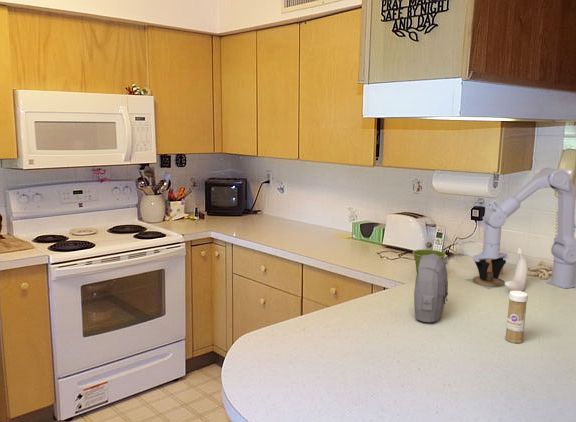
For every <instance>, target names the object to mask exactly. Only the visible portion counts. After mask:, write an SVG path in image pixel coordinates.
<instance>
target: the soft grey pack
mask: <svg viewBox="0 0 576 422" xmlns="http://www.w3.org/2000/svg"><path fill="white" fill-rule="evenodd" d="M448 284H449V281H448V271H447V267H446V263H445V261H444V259H442V258H441V257H440V256H438V255H436V254H430V255H423V256H422V258H421V259H420V263H419V267H418V271H416V277H415V284H414V289H413V290H414V291H413V292H414V293H413V300H414V301H413V305H414V306H413V307H414V317H415V319H417V320H418V321H420V322H423V323H434V322H437V321H438V320H439V319H440V318H441V316H442V314H443V312H444V307H445V305H446V302H448V295H449V292H448V291H449V285H448Z"/></svg>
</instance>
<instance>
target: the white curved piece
mask: <svg viewBox="0 0 576 422" xmlns="http://www.w3.org/2000/svg"><path fill="white" fill-rule="evenodd" d="M523 253H524V252H523V250H522V249H521V247H518V248H517V252H516V254H518V257H519V260H518V262H517V263H516V266H515V271H514V276H513V279H512V280H508V281H504V282H505V288H506V289H507V290H508V291H509V292H510V291H522V292H524V291H523V290H524V289H525V287H526V284H527V278H528V277H527V276H528V271H529V269H528V268H529V267H528V262H527V260H526V258H525V257H524V254H523Z"/></svg>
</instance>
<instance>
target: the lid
mask: <svg viewBox="0 0 576 422" xmlns="http://www.w3.org/2000/svg"><path fill="white" fill-rule="evenodd" d="M472 279H473V282H474V283H476V284H475V285H477V284H479V285H483V286H489V287H499V288H502V287H501V286H504V284H505V282H506V281H505V280H503V279H501V278H499V277H498V279H496V278H493V272H487V274H486V279H485V280H482V279H480V276H479V275H478V276H477V275H476V276H474V277H472ZM474 283H473V284H474ZM479 285H478V286H479Z"/></svg>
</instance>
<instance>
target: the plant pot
mask: <svg viewBox="0 0 576 422" xmlns="http://www.w3.org/2000/svg"><path fill="white" fill-rule="evenodd" d="M412 254H413V257H414V261H415V262H414V263H415V271H416V272H417V271H418V267H419V263H420V259H421V258H422V256H423V255H430V254H436V255H438V256H440V257H441V258H442V259H443V260H444V258H445V257H446V255H447V254H446V253H445V252H443V251H441V250H435V249H428V248H427V249H416V250H413V251H412Z"/></svg>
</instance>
